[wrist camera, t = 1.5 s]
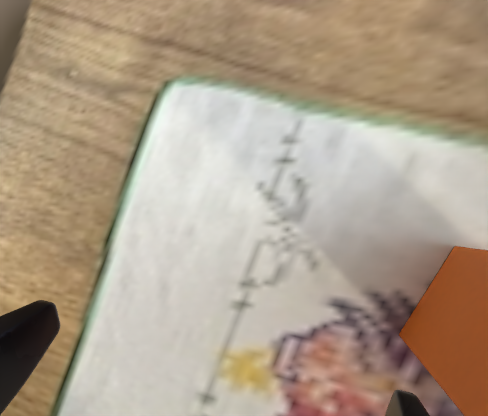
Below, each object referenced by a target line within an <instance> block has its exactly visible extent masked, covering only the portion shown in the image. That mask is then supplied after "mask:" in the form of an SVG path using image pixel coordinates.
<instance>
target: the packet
mask: <svg viewBox="0 0 488 416" xmlns="http://www.w3.org/2000/svg"><path fill="white" fill-rule="evenodd" d="M399 336H400V337H401V338H402V339H403V341H404V342H405V343H406V344H407V346H408V347H409V348H410V349H411V351H412V352H413V353H414V354H415V355H416V357H417V358H418V359H419V360H420V362H421V363H422V364H423V365H424V367H425V368H426V369H427V370H428V372H429V373H430V374H431V375H432V376H433V378H434V379H435V380H436V381H437V383H438V384H439V385H440V386H441V388H442V389H443V390H444V391H445V392H446V394H447V395H448V396H449V397H450V399H451V400H452V401H453V402H454V404H455V405H456V406H457V407H458V409H459V410H460V411H461V412H462V413H463V415H464V416H488V250H480V249H473V248H466V247H458V246H454V248H453V250H452V251H451V253H450V254H449V256H448V257H447V259H446V261H445V262H444V264H443V265H442V267H441V268H440V270H439V272H438V273H437V275H436V276H435V278H434V280H433V281H432V283H431V284H430V286H429V287H428V289H427V291H426V292H425V294H424V295H423V297H422V299H421V300H420V302H419V303H418V305H417V306H416V308H415V310H414V311H413V313H412V314H411V316H410V317H409V319H408V321H407V322H406V324H405V325H404V327H403V329H402V330H401V332H400V333H399Z"/></svg>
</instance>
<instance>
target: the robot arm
mask: <svg viewBox="0 0 488 416" xmlns="http://www.w3.org/2000/svg"><path fill="white" fill-rule="evenodd" d="M59 329H60V321H59V317H58V313H57V309H56V306H55V304H54V303H52V302H48V301H44V300H39V301H36V302H33V303H31V304H28V305H26V306H24V307H21V308H19V309H17V310H14V311H12V312H10V313H7V314H5V315H2V316H0V415H1V413H2V412H3V411H4V410H5V408H6V407H7V406H8V405H9V403H10V402H11V401H12V399H13V398H14V397H15V396H16V394H17V393H18V392H19V390H20V389H21V388H22V386H23V385H24V384H25V382H26V381H27V379H28V378H29V376H30V375H31V373H32V372H33V370H34V369H35V367H36V366H37V364H38V363H39V361H40V360H41V358H42V357H43V355H44V354H45V352H46V350H47V349H48V347H49V346H50V344H51V343H52V341H53V340H54V338H55V337H56V335H57V334H58V332H59ZM385 416H430V415H429V414H428V412H427V411H426V409H425V408H424V406H423V405H422V403H421V402H420V400H419V399H418V397H417V396H416V395H414V394H413V393H410V392H406V391H402V390H396V391H394V393H393V395H392V398H391V400H390V403H389V405H388V408H387V410H386V414H385Z"/></svg>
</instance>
